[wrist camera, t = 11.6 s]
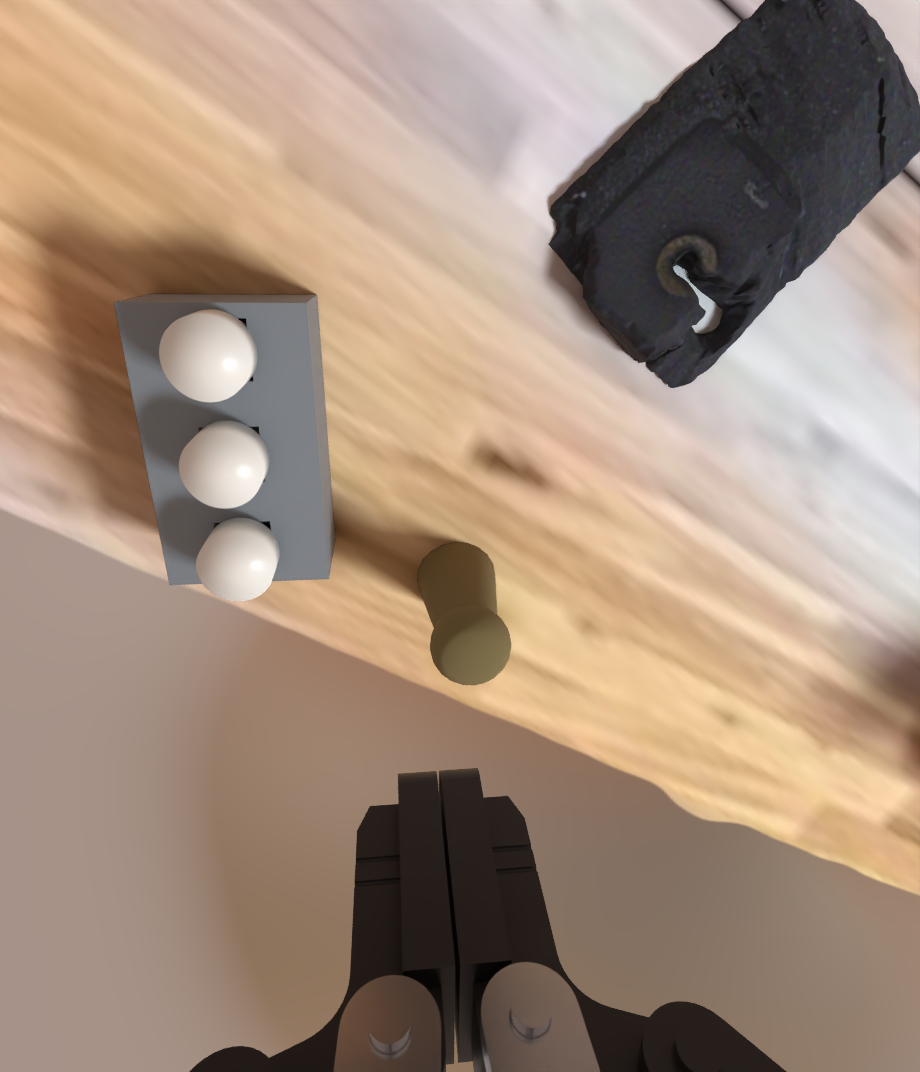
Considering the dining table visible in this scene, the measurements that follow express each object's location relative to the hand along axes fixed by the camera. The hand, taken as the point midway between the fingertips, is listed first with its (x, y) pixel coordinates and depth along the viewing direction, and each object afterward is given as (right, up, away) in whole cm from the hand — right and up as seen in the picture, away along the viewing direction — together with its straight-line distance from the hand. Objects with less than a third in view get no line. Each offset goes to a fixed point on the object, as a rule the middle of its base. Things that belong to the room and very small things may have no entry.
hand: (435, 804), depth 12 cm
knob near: (-13, +18, +29) cm, 36 cm away
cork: (0, +2, +38) cm, 38 cm away
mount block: (-14, +12, +31) cm, 36 cm away
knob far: (-14, +7, +34) cm, 37 cm away
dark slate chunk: (+18, +27, +29) cm, 43 cm away
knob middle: (-14, +12, +31) cm, 36 cm away
